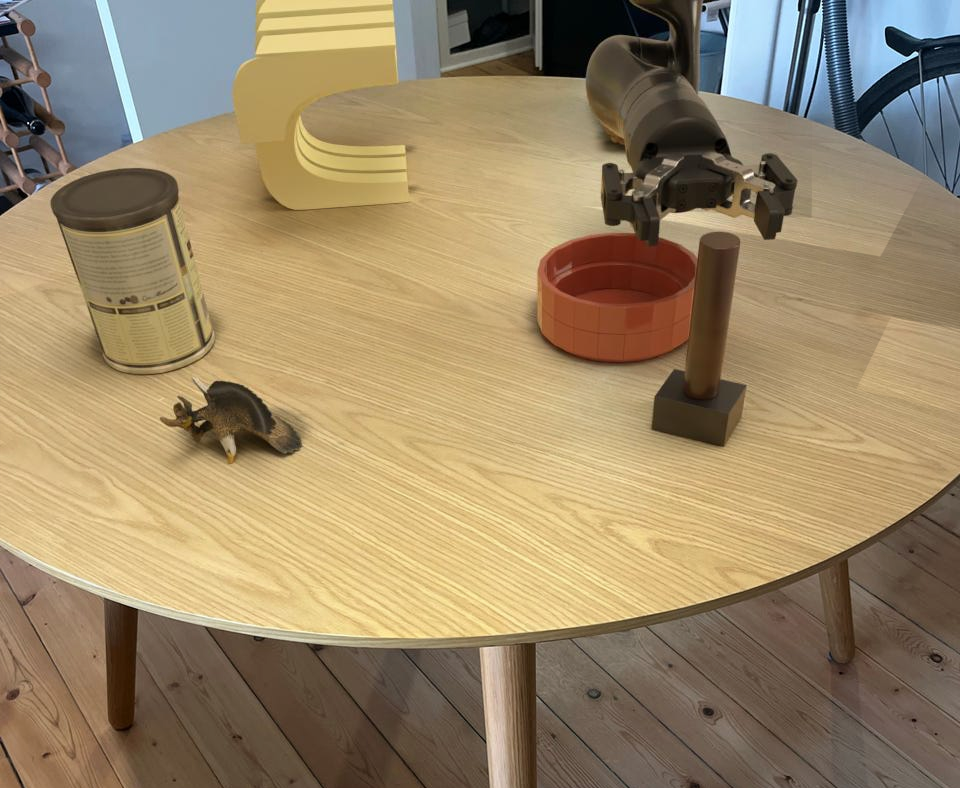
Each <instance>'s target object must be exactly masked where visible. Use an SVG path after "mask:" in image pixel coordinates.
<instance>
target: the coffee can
mask: <svg viewBox="0 0 960 788" xmlns="http://www.w3.org/2000/svg"><path fill="white" fill-rule="evenodd" d="M179 193H180V192H179V184H178V182H177V179H176V178H175V177H174V176H173V175H171V174H169V173H168V172H165V171H162V170H159V169H154V168H147V167H146V168H144V167H126V168H117V169H115V168H114V169H109V170H102V171H99V172H95V173H90V174H88V175H85V176H82V177H80V178H77V179H75V180H72V181H71V182H69V183H67V184H65V185H63V186H62V187H60V188H59V189H58V190H57V191H55V193H54V194H53V195H52V197H51V199H50V202H49V203H50V208H51V211H52V214H53V216H54V217H55V218H56V221H57V224H58V226H59V229H60V232H61V235H62V238H63V241H64V244H65V248H66V250H67V253H68V255H69V259H70V261H71V265H72V267H73V270H74V272H75V275H76V278H77V281H78V284H79V287H80V290H81V293H82V296H83V298H84V299H83V300H84V302H85V304H86V307H87V310H88V313H89V317H90V320H91V322H92V325H93V328H94V331H95V333H96V336H97V339H98V342H99V345H100V348H101V351H102V357H103V359H104V361H105V362H106V364H107V365H108V366H109V367H111V368H113V369H114V370H117V371H119V372H122V373H126V374H132V375H153V374H155V375H157V374H162V373H167V372H171V371H174V370H175V371H176V370H178V369H181V368H183V367H187V366H189V365H190V364H192V363H194V362H196V361H198V360H200V359H201V358H203V357H204V356H205V355H206V354H207V353H209V352H210V350H211V349H212V347H213V346H214V343H215V340H216V334H215V331H214V329H213V325H212V323H211V318H210V315H209V311H208V306H207V303H206V298H205V294H204V290H203V287H202V283H201V279H200V275H199V271H198V268H197V264H196V259H195V255H194V251H193V247H192V244H191V240H190V235H189V232H188V228H187V225H186V220H185V216H184V213H183V209H182V205H181V200H180V197H179Z"/></svg>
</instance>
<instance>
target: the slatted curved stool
mask: <svg viewBox="0 0 960 788" xmlns="http://www.w3.org/2000/svg"><path fill="white" fill-rule="evenodd" d="M393 3H394V1H393V0H256V4H255V9H254V10H255V12H254V14H255V15H254V16H255V23H254V33H255V38H254V39H255V40H254V58H251V59H248V60H246V61H244V62H243V63H242V64H240V66H239V67H238V69H237V71H236V74H235V77H234V80H233V84H232V90H231V91H232V93H231V97H232V105H233V109H234V114H235V119H236V125H237V129H238V135H239V140H240V144H242V145H243V144H254V147H255V151H256V156H257V159H258V164H259V168H260V174H261V178H262V181H263V183H264V185H265V188H266V189H267V191H268V192H269V194H270V195H271V196H272V197H273V198H274V200H275V201H277V202H278V203H279V204H281V205H282V206H284V207H285V208H287V209H291V210H295V211H303V210H304V211H306V210H318V209H319V210H321V209H332V208H345V207H346V208H347V207H360V206H362V207H363V206H374V205H388V204H399V203H400V204H401V203H410V195H409V182H408V179H409V178H408V165H407V164H408V163H407V153H406V144H396V145H395V144H394V145H369V146H362V145H361V146H360V145H359V146H358V145H355V146H354V145H343V144H336V143H331V142H327V141H326V142H325V141H323V140H320V139H318V138H316V137H314V136H313V135H311V134H310V133H309V132H308V130H307V129H306V128H305V126H304V124H303V121H302V117H301V114H302V113H303V111H304V110H305V109H306V108H307V107H308V106H309V105H311V104H312V103H314V102H317V101H318V100H320V99H322V98H325V97H328V96H332V95H334V94H339V93H343V92H346V91H353V90H359V89H365V88H373V87H380V86H389V85H399V72H398V53H397V41H396V38H397V37H396V26H395V12H394V4H393Z"/></svg>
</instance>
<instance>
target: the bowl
mask: <svg viewBox="0 0 960 788" xmlns="http://www.w3.org/2000/svg"><path fill="white" fill-rule="evenodd" d="M697 259H698V256H696V254H695V253H694V252H692V251H691V250H690V249H688V248H686V247H685V246H683V245H682V244H680V243H677V242H675V241H672V240H669V239H666V238H663V237H660V236H659V240H658V246H655V247H647V244H646V241H640V240H639V239H638V238H637V237H636V234H635V232H606V233H605V232H604V233H597V234H596V233H595V234H588V235H584V236H580V237H577V238H573V239H569V240H567V241H565V242H563V243H560V244H559V245H556V246H555V247H552V248H551V249H549V251H548V252H547V253H545V255H543V257H541V258H540V260H539V264H538V267H537V271H536V273H537V274H536V276H537V278H536V279H537V282H536V283H537V284H536V285H537V286H536V287H537V289H536V291H537V292H536V294H537V295H536V297H537V300H536V301H537V303H536V304H537V311H536V312H537V324H538V327H539V330H540V332H541V334H542V335H543V336H544V337H545V338H546V339H547V340H548V341H549V342H550V343H552V345H554V346H556V347H558V348H560V349H561V350H563V351H564V352H566V353H568V354H571V355H573V356H576V357H579V358H583V359H586V360H589V361H590V360H591V361H596V362H604V363H629V362H638V361H645V360H649V359H653V358H655V357H659V356H662V355H664V354H666V353H668V352H671V351H673V350H674V349H676V348H677V347H679V346H681V345H683V344H684V343H685V342H688V338H689V329H690V320H691V311H692V303H693V294H694V285H695V277H696V268H697Z"/></svg>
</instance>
